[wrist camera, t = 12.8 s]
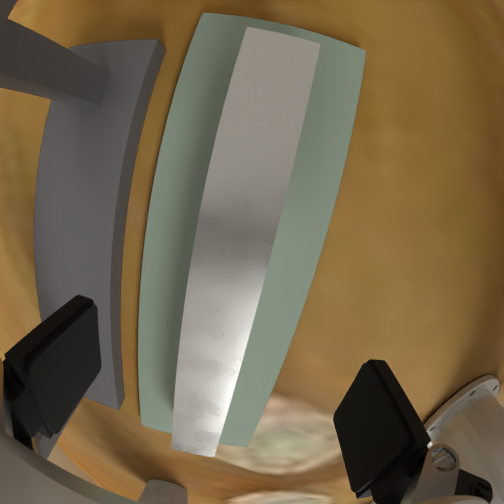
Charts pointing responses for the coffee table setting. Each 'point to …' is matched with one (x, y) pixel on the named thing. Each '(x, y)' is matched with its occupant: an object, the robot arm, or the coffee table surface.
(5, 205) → the coffee table surface
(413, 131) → the coffee table surface
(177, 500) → the house plant
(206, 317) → the steel rail
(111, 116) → the grey base with uprights
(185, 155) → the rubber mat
